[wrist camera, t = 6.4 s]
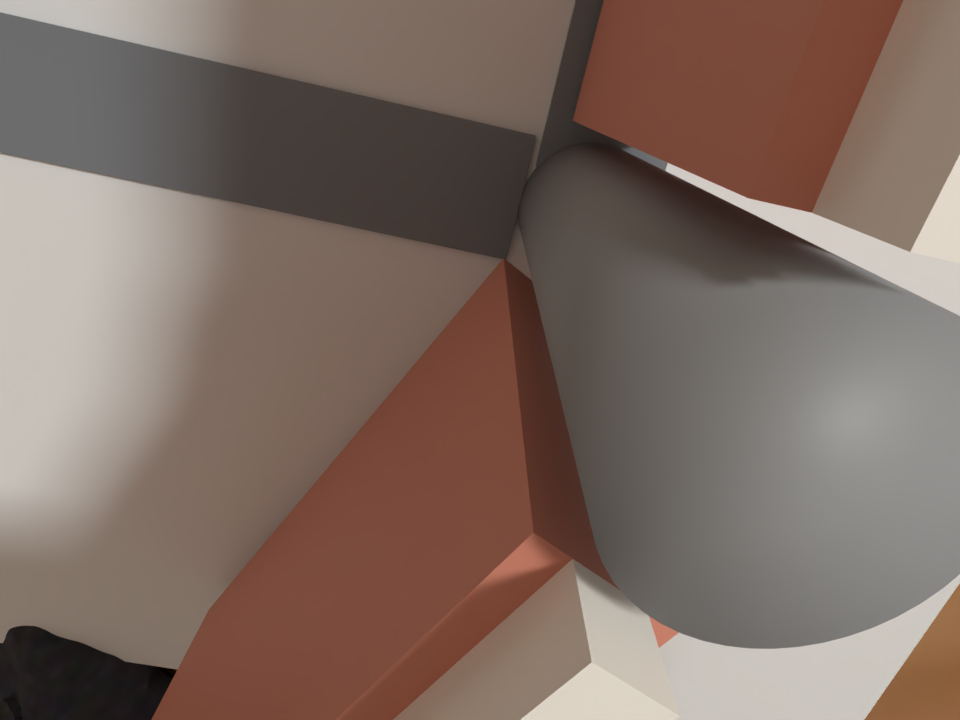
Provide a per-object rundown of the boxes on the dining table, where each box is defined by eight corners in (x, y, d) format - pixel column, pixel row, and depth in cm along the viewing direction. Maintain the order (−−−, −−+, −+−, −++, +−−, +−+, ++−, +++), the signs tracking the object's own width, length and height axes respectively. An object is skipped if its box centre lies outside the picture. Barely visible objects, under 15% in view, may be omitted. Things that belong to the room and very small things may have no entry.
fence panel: (263, 637, 12) (39, 1203, 6) (208, 609, 12) (-87, 1174, 6) (565, 307, 9) (720, 740, 3) (503, 257, 9) (542, 633, 3)
